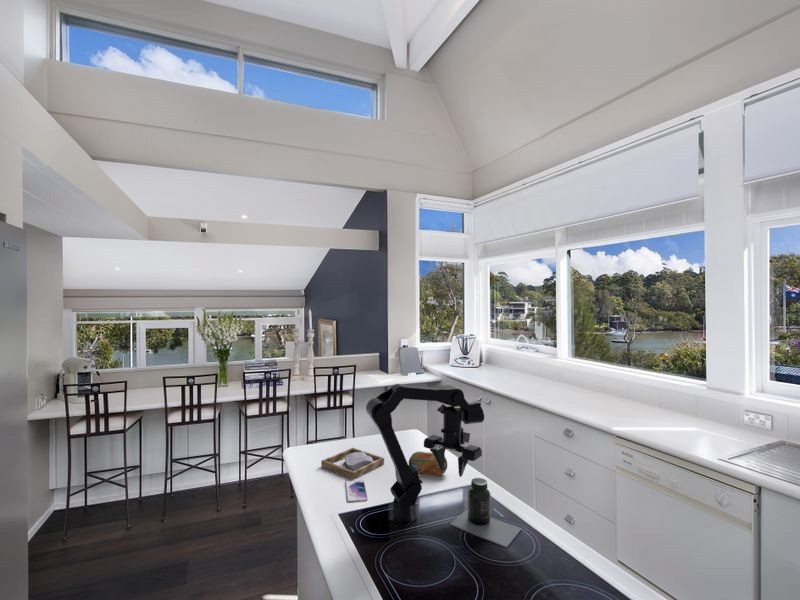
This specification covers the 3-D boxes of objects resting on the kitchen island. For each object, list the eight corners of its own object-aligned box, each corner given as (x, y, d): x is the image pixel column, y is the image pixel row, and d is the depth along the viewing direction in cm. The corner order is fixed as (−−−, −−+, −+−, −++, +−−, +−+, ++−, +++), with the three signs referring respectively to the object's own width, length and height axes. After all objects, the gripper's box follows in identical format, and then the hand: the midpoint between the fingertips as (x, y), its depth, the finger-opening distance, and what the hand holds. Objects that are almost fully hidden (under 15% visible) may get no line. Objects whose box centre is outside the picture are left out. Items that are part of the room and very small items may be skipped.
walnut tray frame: (353, 479, 152) (353, 472, 152) (321, 466, 163) (321, 460, 163) (384, 464, 166) (384, 458, 166) (352, 453, 177) (352, 447, 177)
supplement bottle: (490, 515, 126) (491, 477, 126) (489, 527, 120) (490, 487, 120) (468, 512, 128) (469, 475, 128) (466, 524, 122) (466, 484, 122)
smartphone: (364, 480, 151) (368, 499, 136) (363, 482, 151) (367, 502, 136) (344, 481, 149) (346, 501, 135) (344, 483, 149) (346, 503, 135)
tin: (408, 474, 157) (408, 452, 157) (409, 470, 160) (409, 449, 160) (447, 476, 155) (447, 455, 155) (447, 473, 158) (447, 451, 158)
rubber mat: (506, 548, 111) (506, 546, 111) (450, 525, 122) (450, 523, 122) (521, 530, 120) (521, 528, 120) (467, 509, 131) (467, 508, 131)
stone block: (353, 478, 157) (376, 467, 162) (351, 466, 157) (373, 456, 162) (342, 467, 168) (363, 458, 172) (340, 456, 167) (361, 447, 172)
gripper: (489, 425, 131) (489, 473, 131) (440, 414, 142) (440, 458, 142) (473, 434, 122) (473, 485, 122) (423, 422, 133) (422, 468, 133)
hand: (451, 473), depth 130 cm, fingers open, 6 cm apart
